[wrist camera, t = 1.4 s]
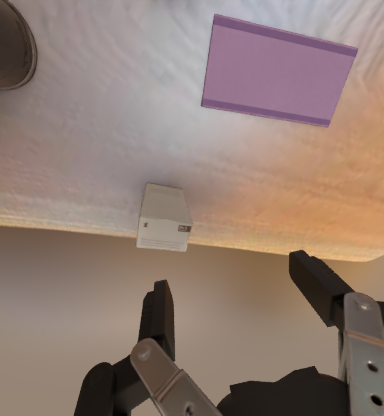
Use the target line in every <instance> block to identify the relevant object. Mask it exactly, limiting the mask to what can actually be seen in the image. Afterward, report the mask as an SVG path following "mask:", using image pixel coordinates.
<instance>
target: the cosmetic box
mask: <svg viewBox="0 0 384 416" xmlns="http://www.w3.org/2000/svg"><path fill="white" fill-rule="evenodd" d="M192 224H193V222H192V219H191V216H190V213H189V210H188V206H187V203H186V200H185V196H184V193H183V190H182V189H179V188H173V187H167V186H161V185H155V184H149V183H146V187H145V191H144V196H143V200H142V205H141V212H140V215H139V224H138V233H137V240H136V247H139V248H151V249H162V250H173V251H183V252H186V249H187V245H188V240H189V236H190V232H191V228H192Z"/></svg>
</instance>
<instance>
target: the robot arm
mask: <svg viewBox="0 0 384 416" xmlns="http://www.w3.org/2000/svg"><path fill="white" fill-rule="evenodd" d="M36 61H37V53H36V46H35V42H34V39H33V36H32V33H31V31H30V29H29V27H28V25H27V23H26V22H25V20H24V19H23V17H22V16H21V15H20V13H19V12H18V11H17V10H16V9H15V8H14V7H13V6H12V5H11V4H10V3H9V2H8V1H7V0H0V89H14V88H17V87H20V86H22V85H24V84H25V83H26V82H27V81H28V80H29V79H30V78H31V77H32V75H33V73H34V70H35V67H36ZM289 274H290V277H291V279H292V280H293V282H294V283H295V284H296V286H297V287H298V288H299V290H300V291H301V292H302V294H303V295H304V296H305V298H306V299H307V300H308V302H309V303H310V304H311V306H312V307H313V308H314V310H315V311H316V312H317V314H318V315H319V316H320V318H321V319H322V320H323V322H324V323H325V324H326V326H327V327H331V326H336V327H337V328H338V329H339V331H338V360H339V361H338V362H339V363H338V364H339V365H338V379H337V378H335V377H332V376H329V375H326V374H320V373H318V371H317V369H316V368H315V366H312V367H308V368H303V369H299V370H295V371H293V372H291V373H290V374H288V375H286V376H285V377H283V378H282V379H280V380H279V381H277V382H260V381H247V382H243V383H238V384H234V385H230V391H231V393H230V394H228V395H227V396H226V397H225V398H223V399H222V400H221V402H220V403H219V404H218V405H217V407H215V406H214V405H213V403H212V402H211V401H210V400H209V399H208V397H207V396H206V395H205V394H204V393H203V392H202V390H201V389H200V388H199V387H198V386H197V385H196V384H195V382H194V381H193V380H192V379H191V378H190V376H188V374H187V373H186V372H185V371H184V370H183V369H181V370H180V369H179V368H178V367H177V366H176V365H175V363H174V361H175V337H174V304H173V299H172V295H171V292H170V288H169V285H168V282H167V280H161V281H157V282H155V283H154V291H151V292H148V293H147V295H146V296H145V298H144V300H143V309H142V316H141V322H140V330H139V337H138V342H137V344H136V346H135V347H134V348H133V350H132V352H131V354H130V355H128V356H127V357H126V358H124V359H123V360H121V361H119V362H117V363H116V364H114V365H111V364H110V363H107V362H102V363H99V364H97V365H96V366H94V367H93V368H92V369H91V370H90V371H89V372H88V373H87V375H86V377H85V378H84V380H83V383H82V387H81V390H80V394H79V398H78V401H77V405H76V409H75V413H74V416H131V410H132V409H133V408H135V407H136V406H138V405H139V404H141V403H142V402H144V401H145V400H147V399H148V398H150V399H151V401H152V402H153V404H154V405H155V407H156V409H157V410H158V412H159V413H160V415H161V416H384V302H380V301H375V300H374V299H373V298H371V297H369V296H368V295H365V294H363V293H359V292H355V291H354V290H353V289H352V288H351V287H350V286H349V285H347V283H345V282H344V281H343V280H342V279H341V278H340V277H339V276H338V275H337V274H336V273H334V271H333V270H332V269H331V268H329V267H328V266H327V265H326V264H325V263H324V262H323V261H322V260H320V259H318V258H316V257H314V256H311V257H310V256H309V255H308V254H307V253H306V252H305V251H303V250H299V251H294V252H290V254H289Z"/></svg>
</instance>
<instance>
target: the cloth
mask: <svg viewBox="0 0 384 416" xmlns="http://www.w3.org/2000/svg"><path fill="white" fill-rule="evenodd" d="M357 51H358V48H355V47H351V46H347V45H342V44H338V43H334V42H330V41H326V40H322V39H317V38H313V37H309V36H305V35H301V34H297V33H293V32H288V31H284V30H280V29H276V28H272V27H268V26H264V25H259V24H255V23H251V22H247V21H243V20H239V19H234V18H230V17H226V16H222V15H218V14H215V15H214V22H213V29H212V36H211V42H210V49H209V56H208V63H207V70H206V77H205V84H204V91H203V98H202V105H201V106H202V107H208V108H214V109H220V110H226V111H233V112H239V113H245V114H251V115H257V116H263V117H269V118H275V119H281V120H287V121H293V122H299V123H305V124H311V125H318V126H324V127H328V126H329V124H330V122H331V119H332V116H333V113H334V111H335V108H336V106H337V103H338V100H339V98H340V95H341V93H342V90H343V87H344V85H345V82H346V80H347V77H348V74H349V72H350V69H351V67H352V64H353V61H354V59H355V57H356V54H357Z"/></svg>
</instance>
